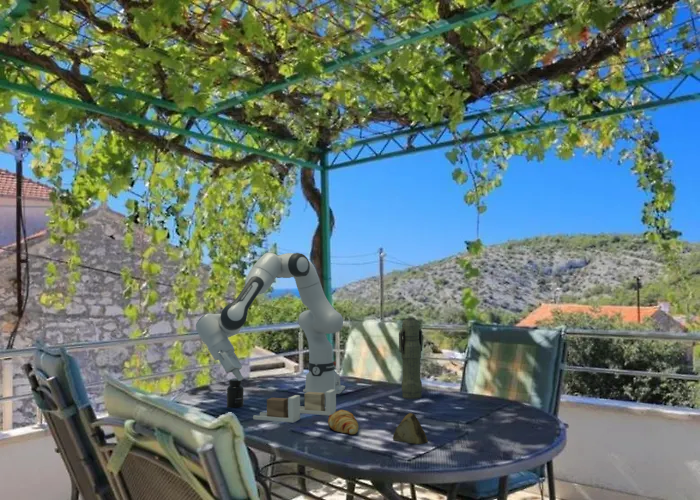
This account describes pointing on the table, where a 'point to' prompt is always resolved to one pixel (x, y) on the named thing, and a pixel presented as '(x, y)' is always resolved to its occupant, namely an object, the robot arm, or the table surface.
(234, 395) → the supplement bottle
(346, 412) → the croissant
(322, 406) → the tan wooden block
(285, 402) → the brown wooden block
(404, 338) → the thermos
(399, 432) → the rock
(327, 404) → the white l-shaped piece
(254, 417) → the grey l-shaped bracket
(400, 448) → the table surface
